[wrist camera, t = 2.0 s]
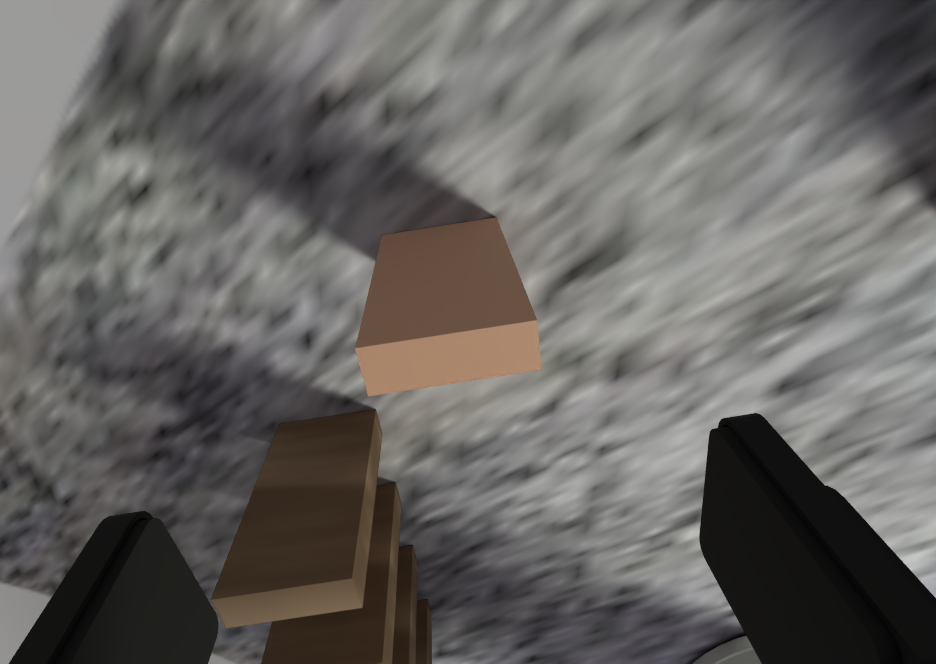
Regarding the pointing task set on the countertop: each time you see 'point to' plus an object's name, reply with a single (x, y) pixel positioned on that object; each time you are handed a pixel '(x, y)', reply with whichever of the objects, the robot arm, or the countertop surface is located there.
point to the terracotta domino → (445, 310)
